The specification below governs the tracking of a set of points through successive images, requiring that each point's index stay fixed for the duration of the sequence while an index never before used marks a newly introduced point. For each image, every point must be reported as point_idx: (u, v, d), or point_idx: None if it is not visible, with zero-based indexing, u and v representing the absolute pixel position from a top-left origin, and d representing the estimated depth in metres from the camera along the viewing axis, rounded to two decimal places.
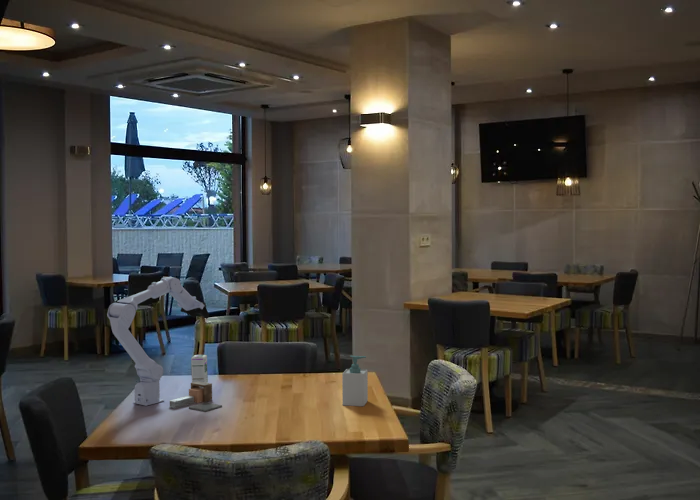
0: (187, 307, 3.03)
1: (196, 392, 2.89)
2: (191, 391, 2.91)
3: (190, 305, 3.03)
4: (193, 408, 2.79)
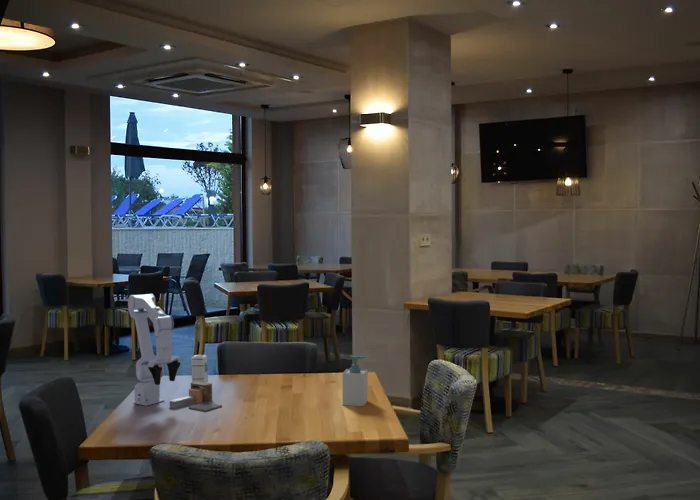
0: None
1: (196, 392, 2.89)
2: (191, 391, 2.91)
3: (156, 357, 2.75)
4: (193, 408, 2.79)
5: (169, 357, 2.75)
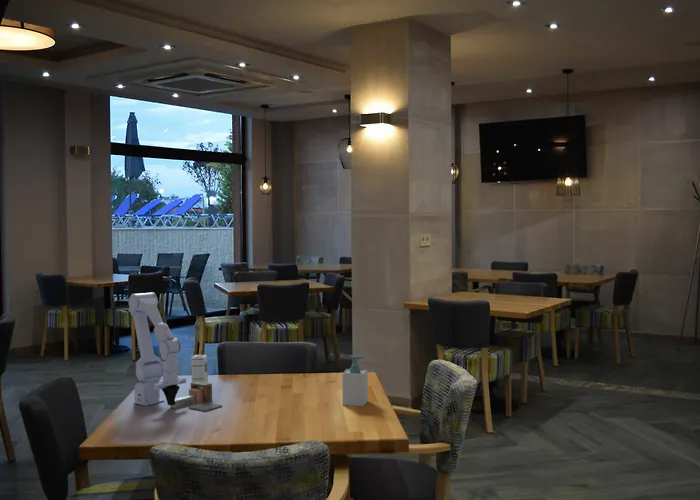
0: None
1: (196, 392, 2.89)
2: (191, 391, 2.91)
3: (163, 379, 2.79)
4: (193, 408, 2.79)
5: (175, 380, 2.79)
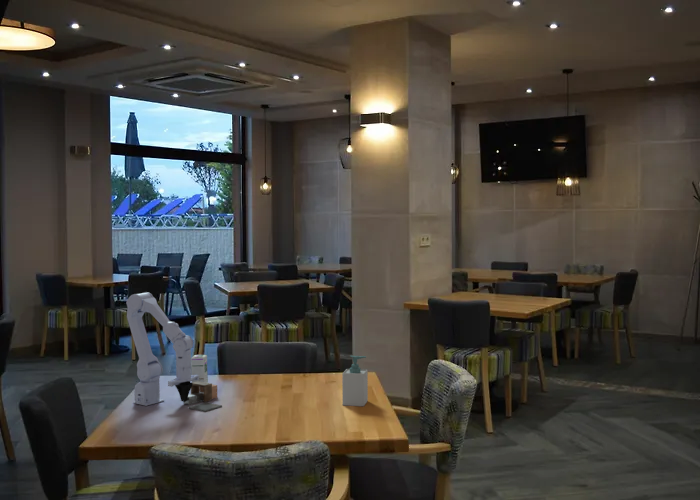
0: None
1: None
2: (202, 388, 2.96)
3: (176, 376, 2.85)
4: (193, 408, 2.79)
5: (188, 377, 2.84)
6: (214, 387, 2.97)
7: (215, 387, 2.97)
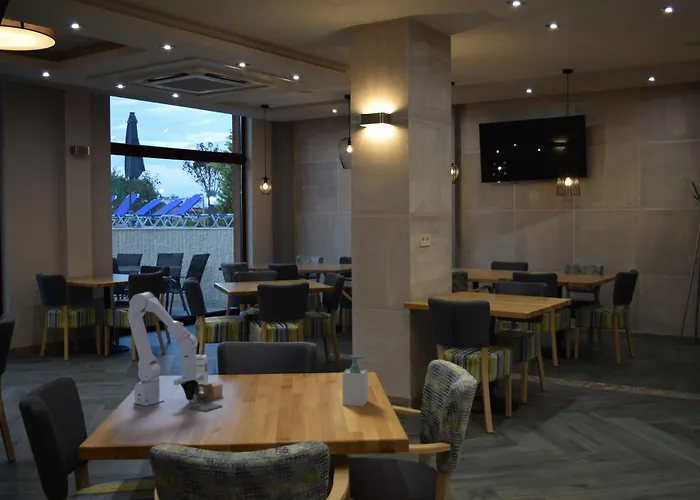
0: None
1: (212, 387, 2.97)
2: None
3: (182, 375, 2.87)
4: (193, 408, 2.79)
5: (194, 375, 2.87)
6: (219, 385, 2.99)
7: (220, 386, 3.00)
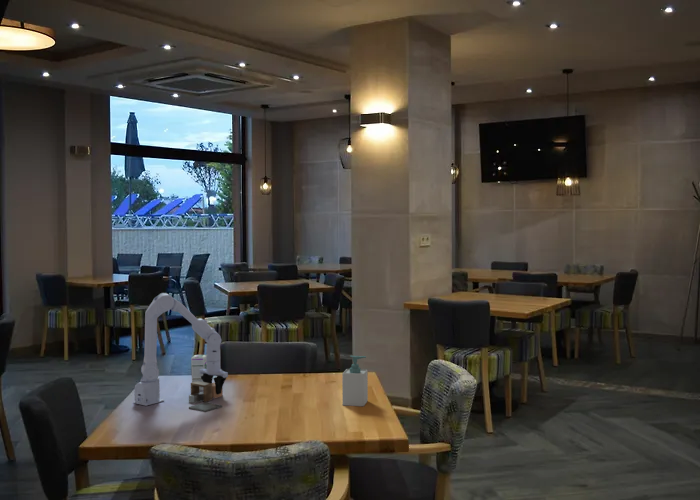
0: (211, 370, 2.97)
1: (213, 387, 2.97)
2: None
3: (215, 370, 2.97)
4: (193, 408, 2.79)
5: None
6: None
7: None
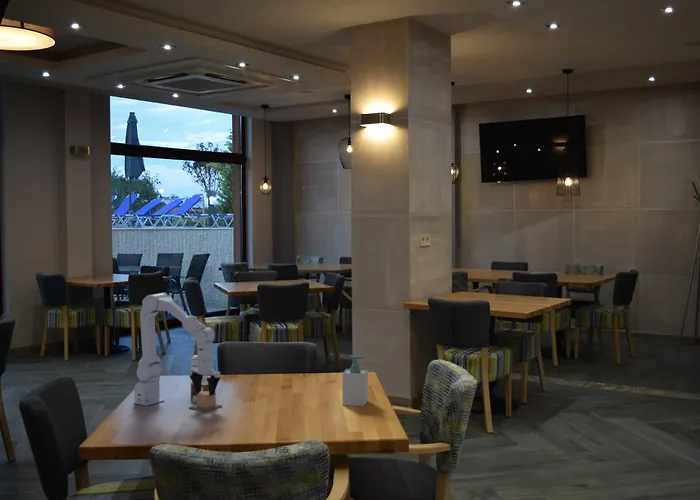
0: (202, 369, 2.78)
1: (205, 396, 2.79)
2: (199, 395, 2.80)
3: (206, 369, 2.78)
4: (193, 408, 2.79)
5: None
6: None
7: (213, 395, 2.82)
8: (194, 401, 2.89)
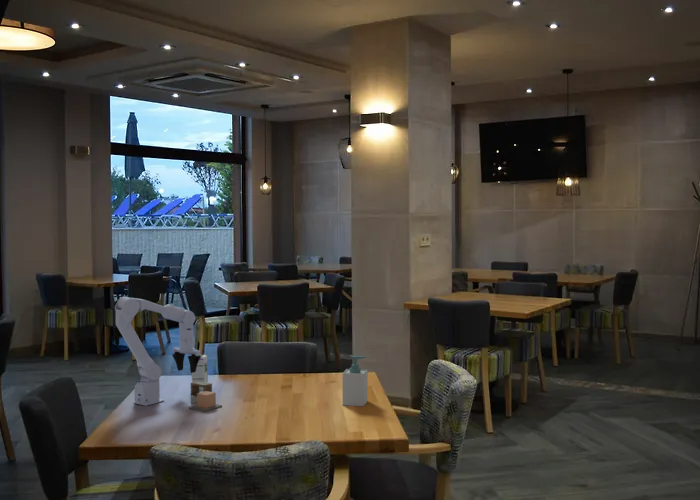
0: (184, 348, 2.97)
1: (205, 396, 2.79)
2: (199, 395, 2.80)
3: (188, 348, 2.97)
4: (193, 408, 2.79)
5: None
6: (213, 394, 2.81)
7: (213, 395, 2.82)
8: (192, 401, 2.89)
